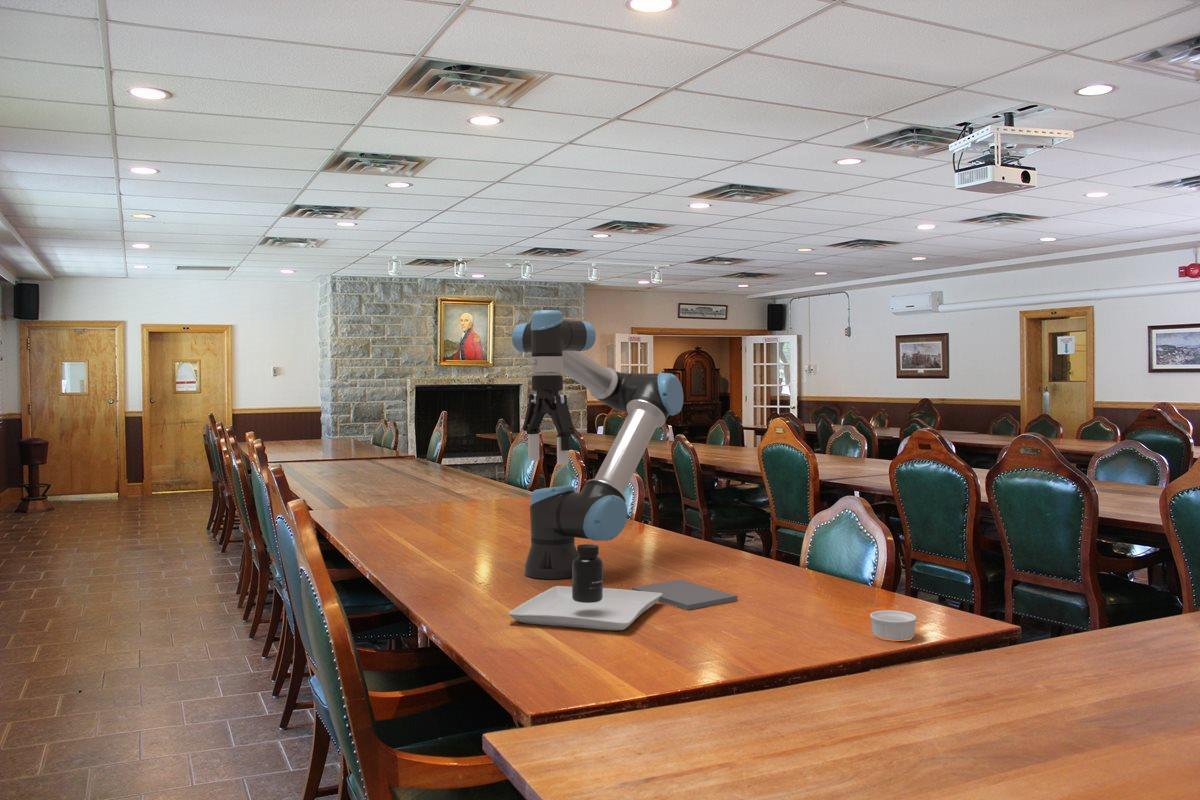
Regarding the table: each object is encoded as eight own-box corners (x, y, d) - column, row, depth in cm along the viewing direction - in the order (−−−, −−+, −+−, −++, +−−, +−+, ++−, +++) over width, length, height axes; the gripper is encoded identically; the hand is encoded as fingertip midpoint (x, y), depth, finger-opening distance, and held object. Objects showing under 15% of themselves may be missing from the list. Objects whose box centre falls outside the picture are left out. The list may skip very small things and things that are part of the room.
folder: (680, 584, 230) (680, 579, 230) (737, 600, 212) (737, 595, 212) (632, 592, 221) (632, 587, 221) (687, 610, 204) (687, 605, 204)
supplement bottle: (599, 604, 198) (599, 549, 198) (568, 602, 199) (568, 548, 199) (605, 596, 205) (605, 543, 204) (575, 595, 206) (575, 542, 206)
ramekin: (893, 645, 177) (893, 623, 177) (860, 634, 185) (860, 613, 184) (926, 639, 181) (926, 617, 181) (892, 628, 189) (893, 607, 188)
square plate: (664, 607, 210) (664, 590, 210) (628, 640, 184) (628, 621, 184) (554, 598, 219) (554, 582, 219) (506, 629, 193) (506, 610, 193)
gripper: (508, 374, 228) (509, 459, 229) (561, 374, 208) (562, 467, 208) (534, 374, 232) (535, 457, 233) (588, 374, 212) (589, 465, 212)
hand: (548, 462), depth 221 cm, fingers open, 13 cm apart
